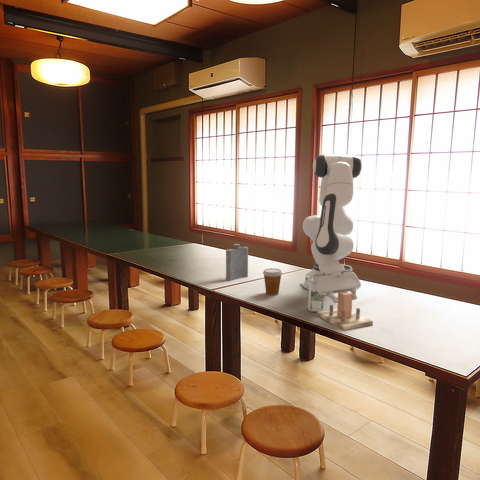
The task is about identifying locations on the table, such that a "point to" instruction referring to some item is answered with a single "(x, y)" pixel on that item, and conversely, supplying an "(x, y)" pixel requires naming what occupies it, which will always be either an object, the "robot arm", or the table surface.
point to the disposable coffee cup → (272, 280)
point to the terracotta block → (344, 303)
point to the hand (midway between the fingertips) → (346, 300)
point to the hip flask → (236, 262)
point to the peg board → (343, 322)
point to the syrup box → (314, 297)
